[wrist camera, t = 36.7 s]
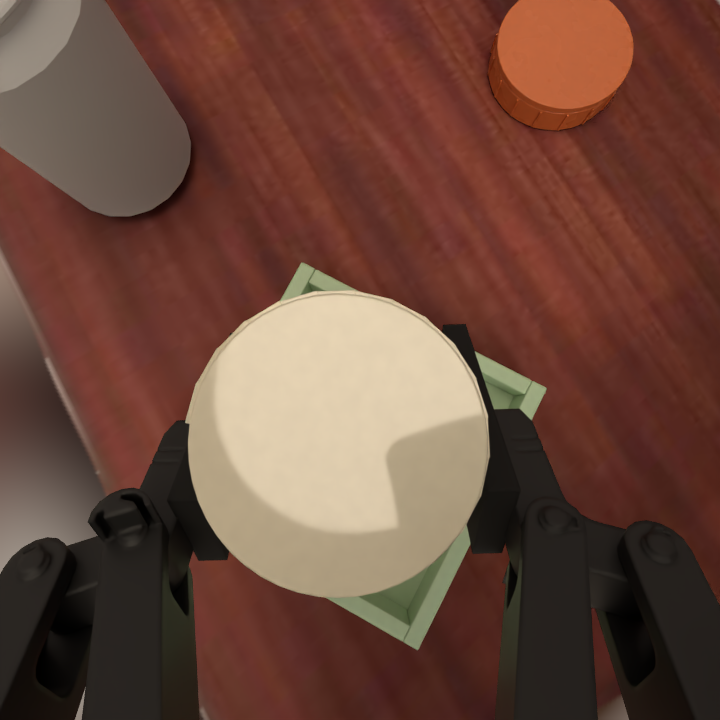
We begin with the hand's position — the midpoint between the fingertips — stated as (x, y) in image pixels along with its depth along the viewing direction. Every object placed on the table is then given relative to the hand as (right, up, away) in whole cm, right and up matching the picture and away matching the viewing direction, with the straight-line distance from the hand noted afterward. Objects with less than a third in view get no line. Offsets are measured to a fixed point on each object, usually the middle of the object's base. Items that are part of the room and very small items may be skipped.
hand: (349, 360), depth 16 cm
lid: (+11, +17, +8) cm, 22 cm away
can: (-13, +11, +10) cm, 20 cm away
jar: (0, -3, +4) cm, 5 cm away
